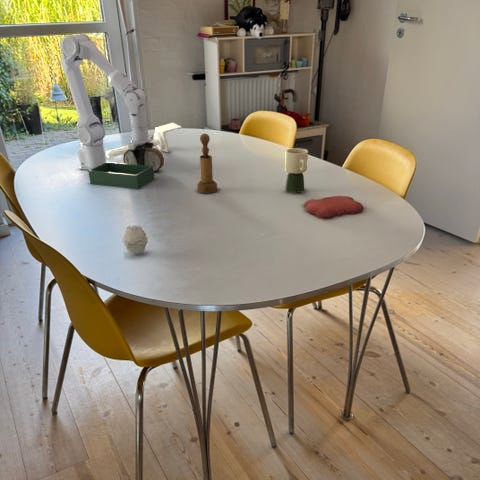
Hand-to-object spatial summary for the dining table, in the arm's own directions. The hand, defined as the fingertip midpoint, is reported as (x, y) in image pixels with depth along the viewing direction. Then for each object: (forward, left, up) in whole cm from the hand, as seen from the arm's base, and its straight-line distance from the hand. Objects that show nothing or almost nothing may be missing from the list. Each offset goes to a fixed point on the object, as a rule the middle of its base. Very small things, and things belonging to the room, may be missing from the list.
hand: (144, 164), depth 179 cm
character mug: (+59, -5, -3) cm, 59 cm away
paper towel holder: (-13, +23, -3) cm, 27 cm away
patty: (+74, -17, -3) cm, 76 cm away
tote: (-2, -13, -2) cm, 13 cm away
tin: (0, 0, -3) cm, 3 cm away
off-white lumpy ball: (+33, -63, -3) cm, 71 cm away
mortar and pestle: (+31, -13, -3) cm, 34 cm away
